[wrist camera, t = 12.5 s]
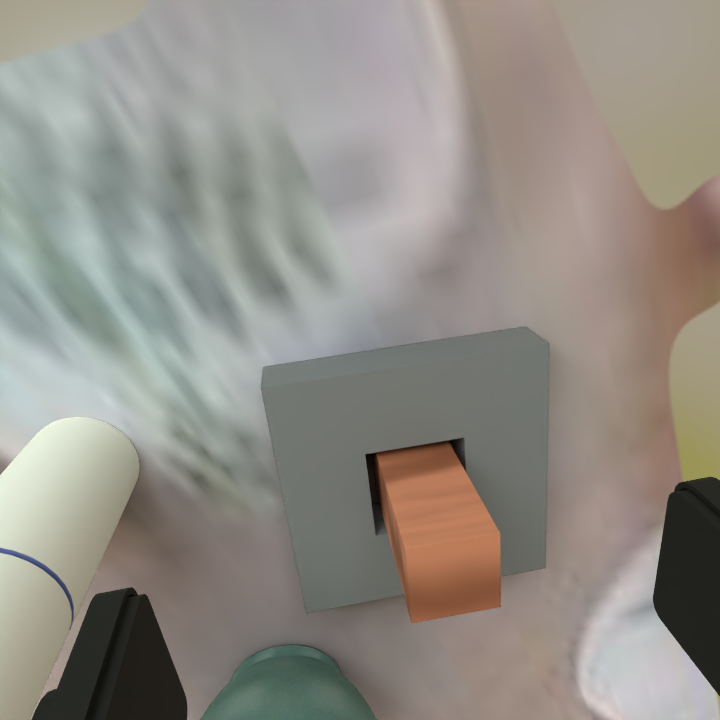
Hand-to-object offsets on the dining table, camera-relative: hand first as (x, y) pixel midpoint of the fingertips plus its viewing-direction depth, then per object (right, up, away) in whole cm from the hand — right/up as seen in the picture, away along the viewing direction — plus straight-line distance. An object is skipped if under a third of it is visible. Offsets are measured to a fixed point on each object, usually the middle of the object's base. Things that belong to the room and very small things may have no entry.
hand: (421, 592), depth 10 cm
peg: (+2, -3, +30) cm, 30 cm away
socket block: (+2, -3, +30) cm, 30 cm away
